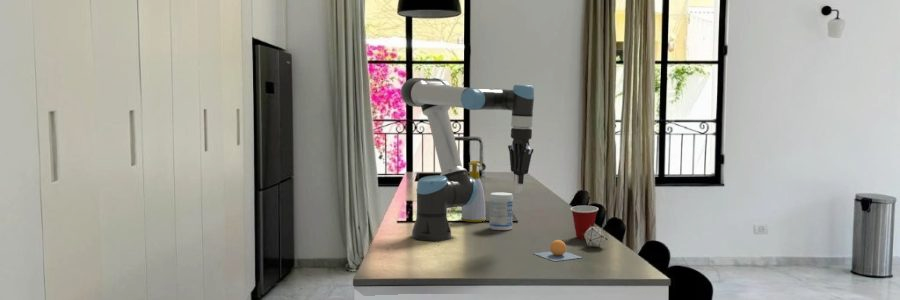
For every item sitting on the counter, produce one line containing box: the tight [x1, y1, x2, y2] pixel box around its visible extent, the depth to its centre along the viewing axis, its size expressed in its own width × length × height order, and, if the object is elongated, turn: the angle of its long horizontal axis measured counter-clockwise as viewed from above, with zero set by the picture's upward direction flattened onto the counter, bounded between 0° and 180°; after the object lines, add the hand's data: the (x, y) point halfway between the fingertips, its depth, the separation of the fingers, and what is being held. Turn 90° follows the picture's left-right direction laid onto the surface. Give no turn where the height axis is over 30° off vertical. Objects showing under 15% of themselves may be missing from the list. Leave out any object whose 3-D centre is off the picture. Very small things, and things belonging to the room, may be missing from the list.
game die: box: [582, 225, 609, 249], centre depth 249 cm, size 9×8×10 cm
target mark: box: [532, 251, 583, 262], centre depth 234 cm, size 12×12×1 cm
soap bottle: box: [460, 160, 487, 223], centre depth 299 cm, size 11×12×26 cm
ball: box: [549, 239, 567, 256], centre depth 234 cm, size 6×6×6 cm
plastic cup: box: [570, 205, 599, 240], centre depth 265 cm, size 11×11×12 cm
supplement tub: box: [489, 191, 514, 231], centre depth 281 cm, size 10×10×15 cm
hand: (518, 192), depth 247 cm, fingers closed
